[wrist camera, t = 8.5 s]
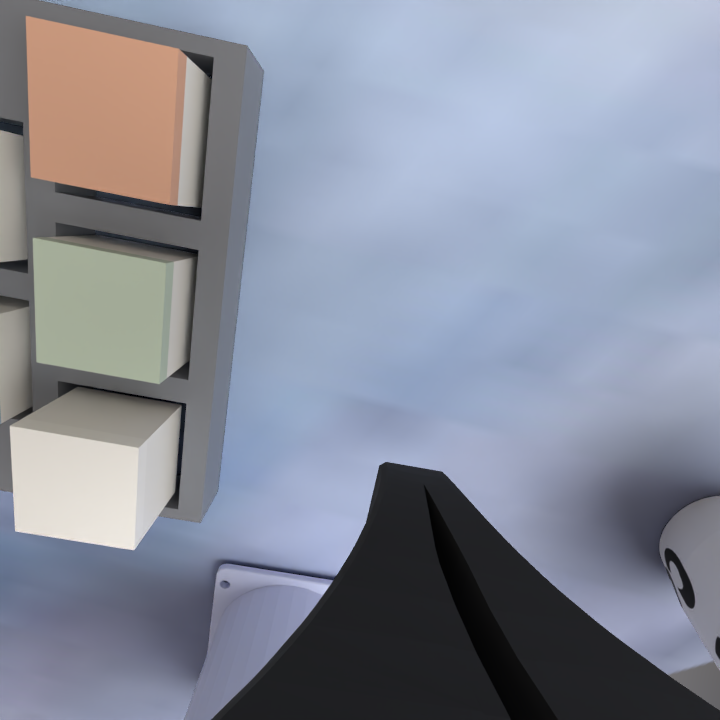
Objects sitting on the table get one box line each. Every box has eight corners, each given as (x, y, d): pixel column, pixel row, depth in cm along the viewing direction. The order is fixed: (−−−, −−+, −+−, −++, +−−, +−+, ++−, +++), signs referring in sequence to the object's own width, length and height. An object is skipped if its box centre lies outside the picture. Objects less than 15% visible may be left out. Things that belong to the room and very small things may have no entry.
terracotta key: (209, 208, 17) (169, 204, 14) (98, 186, 17) (30, 177, 13) (218, 86, 16) (178, 48, 12) (100, 61, 16) (25, 15, 12)
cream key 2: (175, 491, 19) (134, 550, 16) (78, 475, 19) (15, 531, 16) (181, 404, 18) (138, 447, 15) (77, 386, 18) (9, 426, 14)
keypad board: (217, 490, 21) (200, 523, 19) (-47, 446, 21) (-98, 474, 18) (263, 71, 16) (247, 45, 14) (-91, -6, 15) (-170, -46, 13)
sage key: (196, 354, 19) (159, 384, 15) (97, 336, 19) (36, 362, 15) (204, 255, 18) (166, 263, 14) (98, 234, 17) (32, 237, 14)
